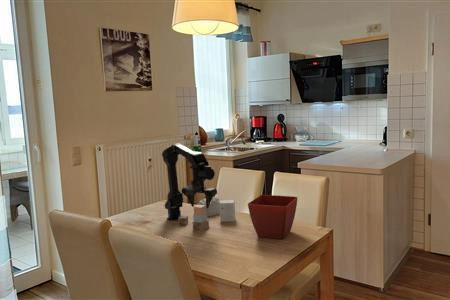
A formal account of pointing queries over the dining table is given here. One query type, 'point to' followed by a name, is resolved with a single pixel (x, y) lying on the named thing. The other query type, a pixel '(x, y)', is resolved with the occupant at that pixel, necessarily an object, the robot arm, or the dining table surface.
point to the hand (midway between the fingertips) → (200, 207)
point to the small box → (227, 211)
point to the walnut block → (183, 220)
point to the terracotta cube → (200, 209)
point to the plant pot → (272, 215)
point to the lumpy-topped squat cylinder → (212, 206)
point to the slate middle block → (200, 218)
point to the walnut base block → (201, 225)
